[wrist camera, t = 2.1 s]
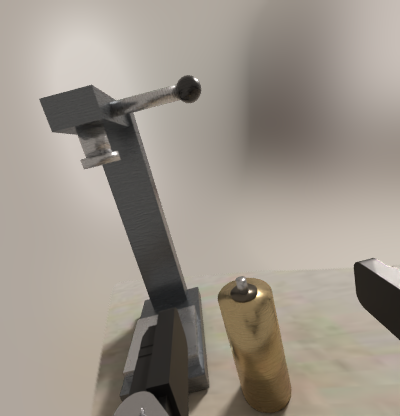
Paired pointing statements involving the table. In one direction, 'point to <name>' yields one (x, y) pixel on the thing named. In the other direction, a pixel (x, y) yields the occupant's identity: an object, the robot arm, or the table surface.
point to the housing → (256, 343)
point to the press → (137, 205)
